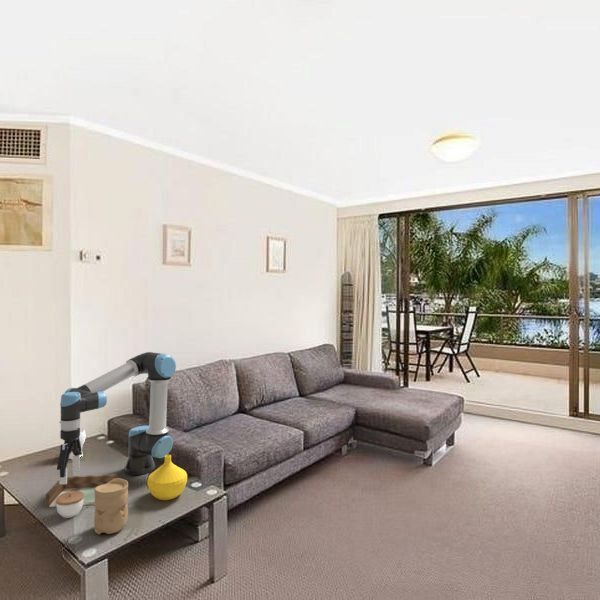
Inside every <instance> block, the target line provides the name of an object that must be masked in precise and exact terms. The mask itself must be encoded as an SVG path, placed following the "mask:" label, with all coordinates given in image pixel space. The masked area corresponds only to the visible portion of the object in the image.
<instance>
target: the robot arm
mask: <svg viewBox="0 0 600 600" xmlns="http://www.w3.org/2000/svg"><path fill="white" fill-rule="evenodd" d="M176 369H177V364H176V361H175V359H174V358H173V356H171V355H169V354H166V353H163V352H162V353H161V352H151V351H147V352H143V353H140V354H138V355H136V356H134V357H132V358H131V357H130V359H127V360H126V361H125V363H123V364H121V365H120V366H118V367H116V368H113V369H112V370H110V371H108V372H106V373H105V374H102V375H99V376H98V377H96V378H94V379H92V380H90V381H88V382H87V383H85V384H82V385H81V386H78V387H70V388H68V389H66V390H65V391H64V392H63V394H62V395H60V404H59V405H60V406H59V407H60V421H59V424H60V431H59V433H60V437H59V438H60V440H63V442H64V443H63V444H60V449H59V456H58V461H57V466H56V470H57V471H59V480H58V481H59V484H67V476H68V467H67V466H68V461H69V460H70V459H69V455H70V453H71V452H73V454H74V455H75V456H73V459H72V471H80V468H81V467H80V465H81V463H80V462H81V459H80V455H82V453H83V447H82V448H81V444H80V439H79V436H80V429H81V413H86V412H90V411H94V410H99V409H101V408H104V407H106V406H107V402H108V396H107V394H106V393H105V391H107V390H109V389H111V388H113V387H114V386H117V385H118V384H120V383H122V382H124V381H125V380H128V379H129V378H132V377H138V376H140V375H145V374H147V381H149V382H150V394H149V395H150V396H149V421H148V423H149V424H148V425H139V426H135V427H133V428H131V429H130V430H129V431H128V456H127V460H126V463H125V465H124V472H125V474H127V475H129V476H141V475H145V474H148V473H150V472H151V473H152V471H153V470H155V461H154V459H153V458H158V459H163V458H165V455H169V453H170V452H171V451H172V449H173V445H174V439H173V438H172V437H171V436H170V435H169V434H170V429H169V428H168V427H167V411H168V409H167V407H168V387H169V384H168V383H169V382H170V381H171V379H172V376H173V375H174V374H175V372H176Z"/></svg>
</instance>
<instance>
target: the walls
mask: <svg viewBox="0 0 600 600" xmlns="http://www.w3.org/2000/svg"><path fill="white" fill-rule="evenodd" d="M116 478H119V473H117V474H112V473H111V474H93V475H89V474H88V475H69V476H68V475H67V484H59V480H58V481H57V482H56V483H55V484H53V486H52V487H51V488H50V489H49V490H48V491H47V492H46V493H45V507H46V506H50V504H51V503H52V502H53V501H54V500H55V499H56V498H57V497H58V496H59V494H60V493H61V492H62V491H63V490H64V489H66V488H89V487H98V486H100V485H104V484H107V483H108V482H110V481H111V480H112V479H116Z"/></svg>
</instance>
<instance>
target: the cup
mask: <svg viewBox="0 0 600 600" xmlns="http://www.w3.org/2000/svg"><path fill="white" fill-rule="evenodd" d="M86 437H87V436H86V430H85V429H84V428H80V436H79V439H80V444H81V448H82V449H83V445H84V444H85V441H86ZM83 455H84V453H83V452H82V455H80V457H81V456H82V457H83ZM73 456H75V455H74V454H73V452H71V453H70V455H69V459H68V460H73ZM82 457H81V458H82Z"/></svg>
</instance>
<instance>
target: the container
mask: <svg viewBox="0 0 600 600" xmlns="http://www.w3.org/2000/svg"><path fill="white" fill-rule="evenodd" d="M128 488H129V481H128V480H126V479H124V478H120V477H118V478H116V479H112V480H111V481H110V482H108V483H107V484H104V485H100V486H98V487H96V488H95V505H94V522H93V523H94V532H95V533H96V534H97V535H99V536H100V535H102V533H105V534H106V535H112V534H116V533H118V532H119V531H121V529H123V527H124V526H125V525H126V523H127V522H128V517H129V509H128V508H129V505H128V500H129V490H128Z"/></svg>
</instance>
